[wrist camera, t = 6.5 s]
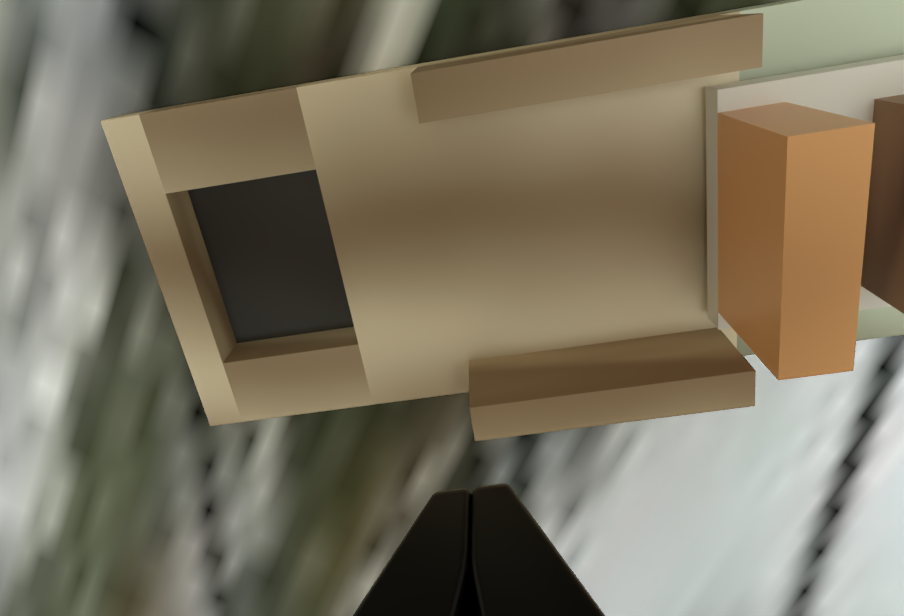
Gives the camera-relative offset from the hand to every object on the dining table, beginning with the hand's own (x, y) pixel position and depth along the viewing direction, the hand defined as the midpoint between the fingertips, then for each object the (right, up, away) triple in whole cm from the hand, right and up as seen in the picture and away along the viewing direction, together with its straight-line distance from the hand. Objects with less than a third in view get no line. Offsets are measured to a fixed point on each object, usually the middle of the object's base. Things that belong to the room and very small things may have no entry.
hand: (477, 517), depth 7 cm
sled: (+11, +5, +9) cm, 15 cm away
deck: (+4, +5, +11) cm, 13 cm away
